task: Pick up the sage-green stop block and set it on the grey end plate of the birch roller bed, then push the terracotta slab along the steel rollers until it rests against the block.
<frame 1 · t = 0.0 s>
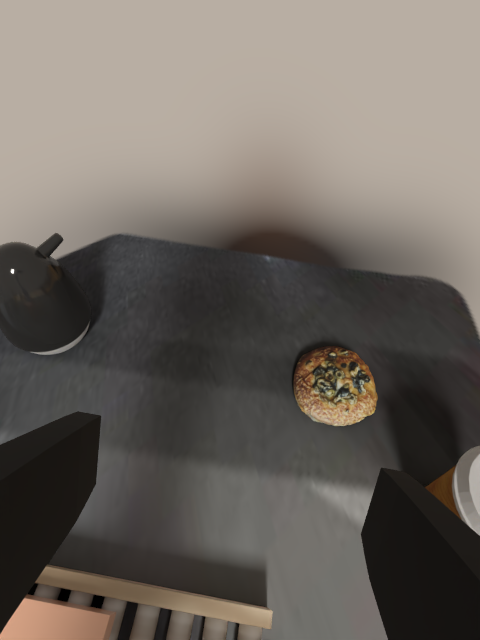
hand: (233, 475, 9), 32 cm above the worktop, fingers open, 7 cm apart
disposable coffee cup: (441, 518, 39), on the worktop
bread roll: (331, 389, 47), on the worktop
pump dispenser: (60, 332, 48), on the worktop
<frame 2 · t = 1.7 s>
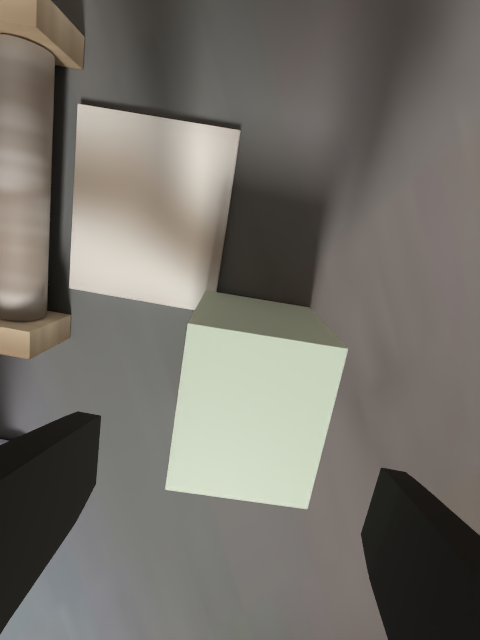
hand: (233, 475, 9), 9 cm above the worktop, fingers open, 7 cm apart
stop block: (247, 358, 17), on the worktop, touching roller bed
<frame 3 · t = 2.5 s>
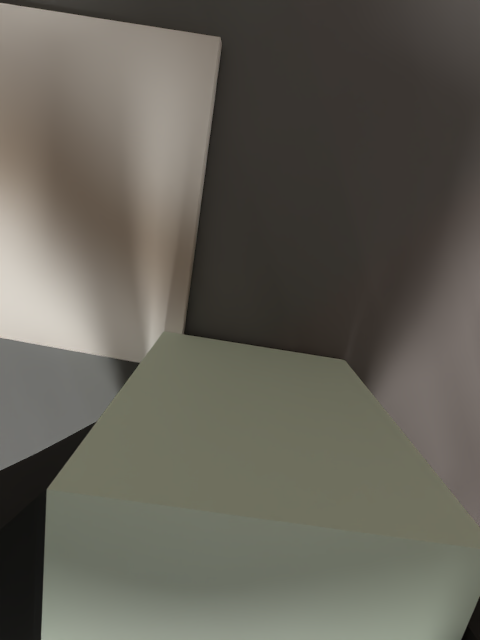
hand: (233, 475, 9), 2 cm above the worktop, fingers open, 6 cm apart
stop block: (237, 441, 10), on the worktop, touching gripper, roller bed
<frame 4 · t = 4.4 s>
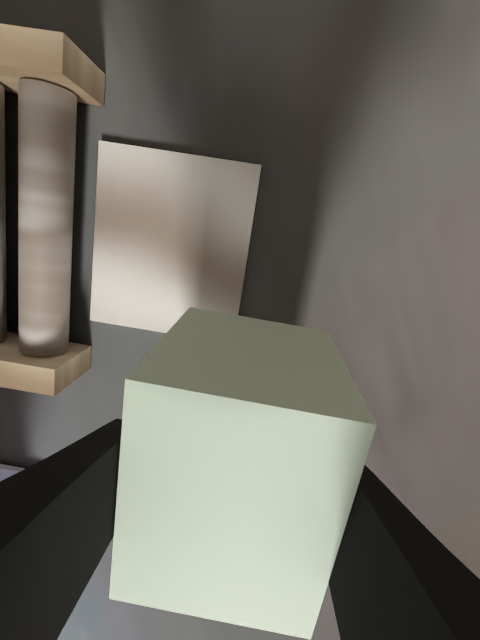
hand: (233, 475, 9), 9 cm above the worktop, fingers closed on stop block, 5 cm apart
stop block: (244, 393, 14), point 4 cm above the worktop, touching gripper
when the fingers open (9 cm above the worktop, at t = 4.5 s): stop block drops 3 cm, resting on roller bed.
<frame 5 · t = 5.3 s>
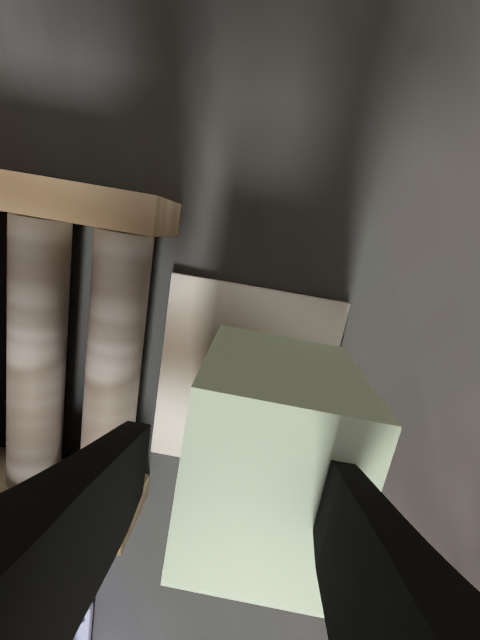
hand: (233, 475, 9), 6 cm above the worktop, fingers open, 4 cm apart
stop block: (267, 403, 15), resting on roller bed, touching gripper
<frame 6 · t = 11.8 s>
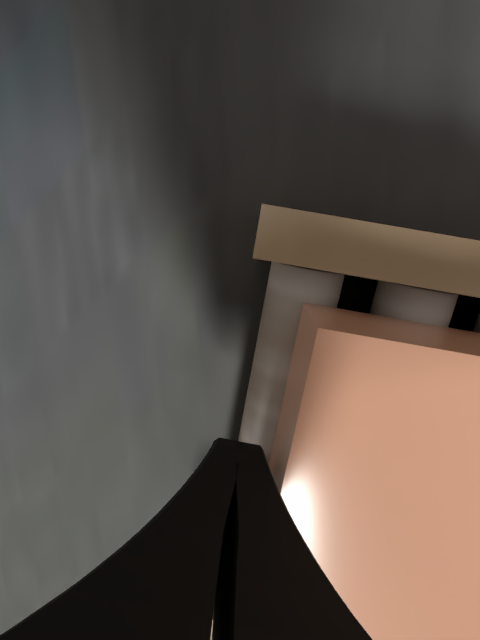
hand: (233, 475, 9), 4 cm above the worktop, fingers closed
slab: (447, 489, 10), point 3 cm above the worktop, touching gripper
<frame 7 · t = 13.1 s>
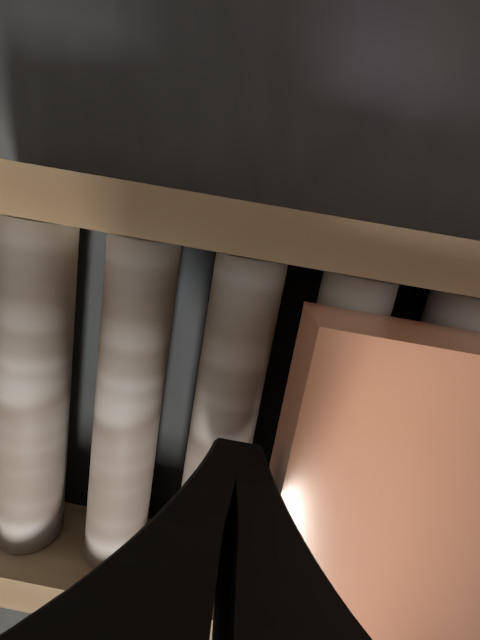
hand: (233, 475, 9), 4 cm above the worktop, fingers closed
slab: (448, 488, 10), point 3 cm above the worktop, touching gripper
roller bed: (354, 428, 12), on the worktop
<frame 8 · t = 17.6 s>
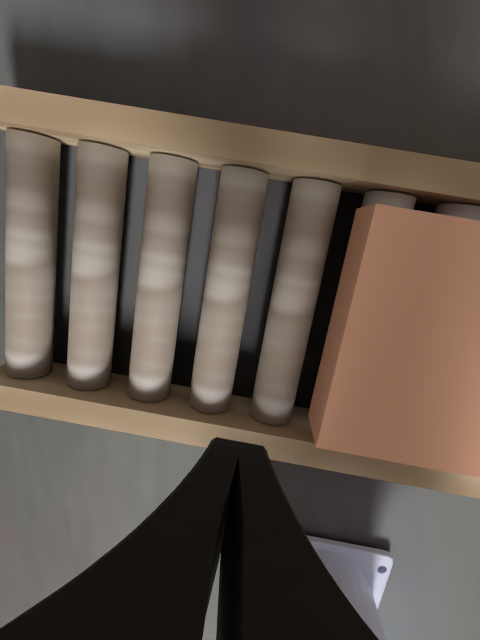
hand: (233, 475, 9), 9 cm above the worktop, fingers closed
slab: (449, 340, 15), point 2 cm above the worktop, touching roller bed
roller bed: (259, 296, 17), on the worktop
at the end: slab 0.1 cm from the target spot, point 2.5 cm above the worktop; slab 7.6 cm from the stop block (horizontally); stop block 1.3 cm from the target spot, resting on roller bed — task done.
